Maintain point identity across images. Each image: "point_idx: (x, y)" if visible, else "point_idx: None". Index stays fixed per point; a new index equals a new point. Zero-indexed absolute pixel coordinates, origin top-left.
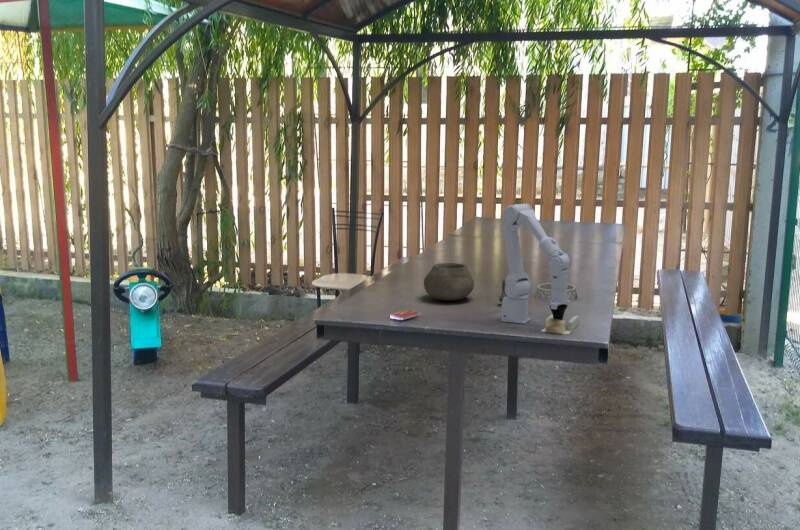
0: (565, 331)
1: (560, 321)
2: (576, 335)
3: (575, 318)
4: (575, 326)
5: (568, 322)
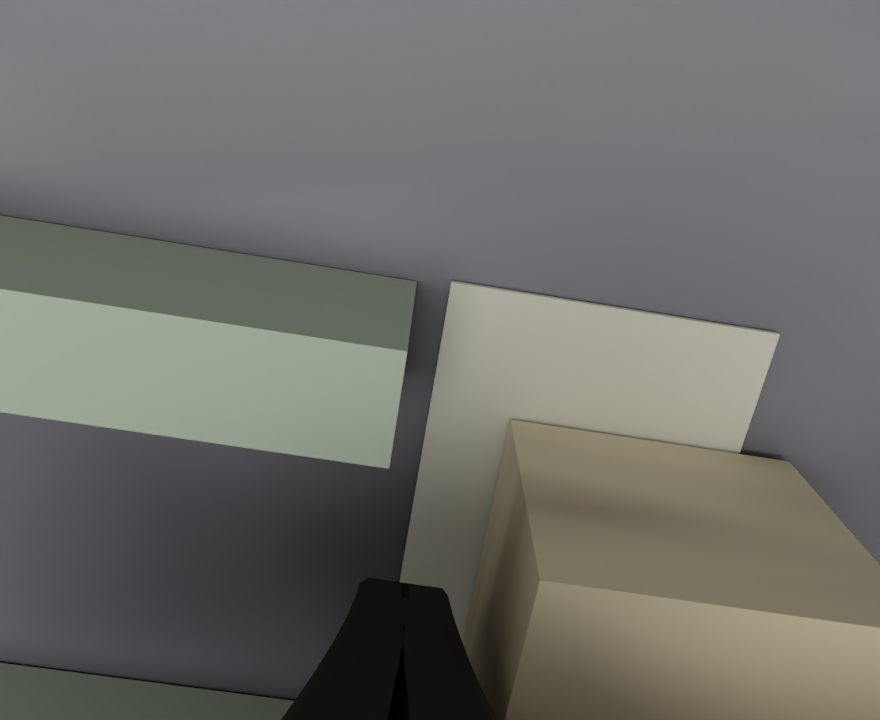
0: (534, 408)
1: (757, 695)
2: (823, 133)
3: None
4: (2, 218)
5: (389, 447)
